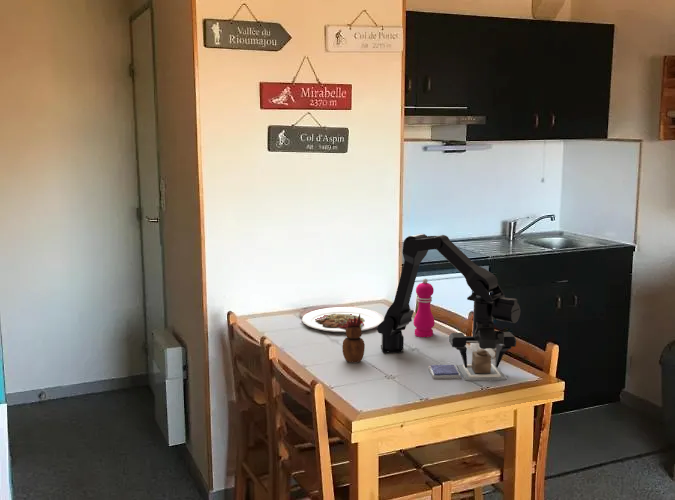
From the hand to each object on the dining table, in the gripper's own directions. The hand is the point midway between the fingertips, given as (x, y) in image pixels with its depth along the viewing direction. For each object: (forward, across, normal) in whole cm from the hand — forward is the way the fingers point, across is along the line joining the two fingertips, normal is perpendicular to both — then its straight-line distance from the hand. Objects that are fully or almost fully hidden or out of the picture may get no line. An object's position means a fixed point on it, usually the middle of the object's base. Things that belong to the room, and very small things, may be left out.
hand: (481, 367), depth 212 cm
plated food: (+2, -38, +53) cm, 65 cm away
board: (+2, 0, 0) cm, 2 cm away
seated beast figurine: (+2, +5, +18) cm, 19 cm away
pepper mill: (+2, -11, +37) cm, 39 cm away
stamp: (+1, 0, 0) cm, 1 cm away
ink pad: (+2, -11, 0) cm, 11 cm away
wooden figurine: (+2, -37, +12) cm, 39 cm away
